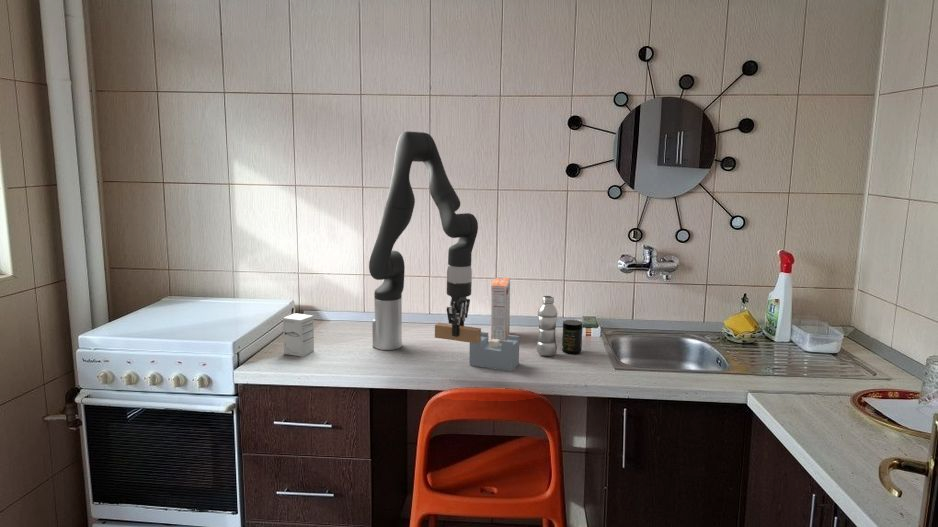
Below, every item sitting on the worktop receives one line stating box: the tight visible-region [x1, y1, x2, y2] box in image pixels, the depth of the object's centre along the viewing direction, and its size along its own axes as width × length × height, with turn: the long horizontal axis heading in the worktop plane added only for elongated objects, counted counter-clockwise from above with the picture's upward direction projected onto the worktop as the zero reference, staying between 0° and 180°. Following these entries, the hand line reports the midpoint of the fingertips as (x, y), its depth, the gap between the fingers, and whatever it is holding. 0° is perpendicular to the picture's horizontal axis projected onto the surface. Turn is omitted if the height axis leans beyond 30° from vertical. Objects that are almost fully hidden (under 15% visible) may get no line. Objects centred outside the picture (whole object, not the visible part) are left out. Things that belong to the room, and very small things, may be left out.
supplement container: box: [561, 319, 584, 356], centre depth 233 cm, size 7×7×10 cm
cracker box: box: [490, 277, 511, 343], centre depth 248 cm, size 14×6×21 cm, turn 172°
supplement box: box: [282, 313, 315, 358], centre depth 228 cm, size 7×7×13 cm
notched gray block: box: [468, 331, 520, 372], centre depth 219 cm, size 14×8×9 cm, turn 69°
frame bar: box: [434, 322, 482, 344], centre depth 210 cm, size 14×3×4 cm, turn 69°
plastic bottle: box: [536, 295, 558, 357], centre depth 228 cm, size 6×7×20 cm
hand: (457, 334), depth 210 cm, fingers closed on frame bar, 3 cm apart
